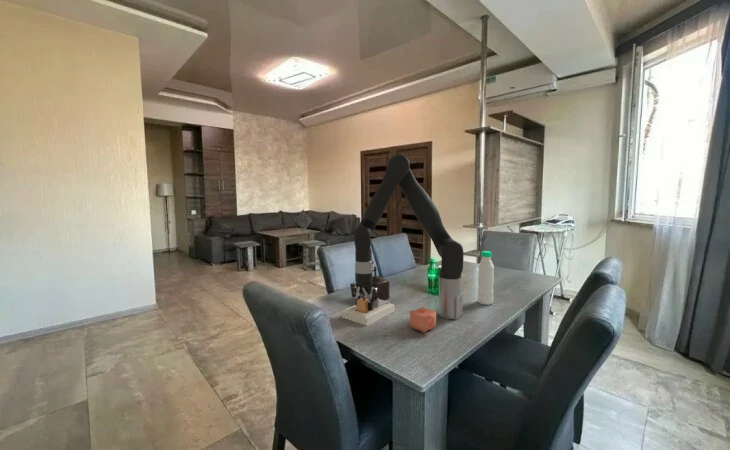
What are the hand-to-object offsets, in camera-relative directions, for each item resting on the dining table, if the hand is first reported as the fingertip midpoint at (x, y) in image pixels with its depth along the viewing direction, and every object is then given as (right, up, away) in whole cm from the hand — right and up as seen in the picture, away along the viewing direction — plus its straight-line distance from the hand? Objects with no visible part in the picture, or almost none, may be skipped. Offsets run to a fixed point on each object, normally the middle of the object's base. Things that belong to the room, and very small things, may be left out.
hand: (364, 308), depth 141 cm
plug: (0, -3, 0) cm, 3 cm away
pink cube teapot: (+23, -5, -13) cm, 27 cm away
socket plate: (+2, -3, +3) cm, 5 cm away
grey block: (+5, 0, +7) cm, 9 cm away
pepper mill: (+4, -1, +26) cm, 27 cm away
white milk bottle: (+58, -1, +15) cm, 60 cm away
